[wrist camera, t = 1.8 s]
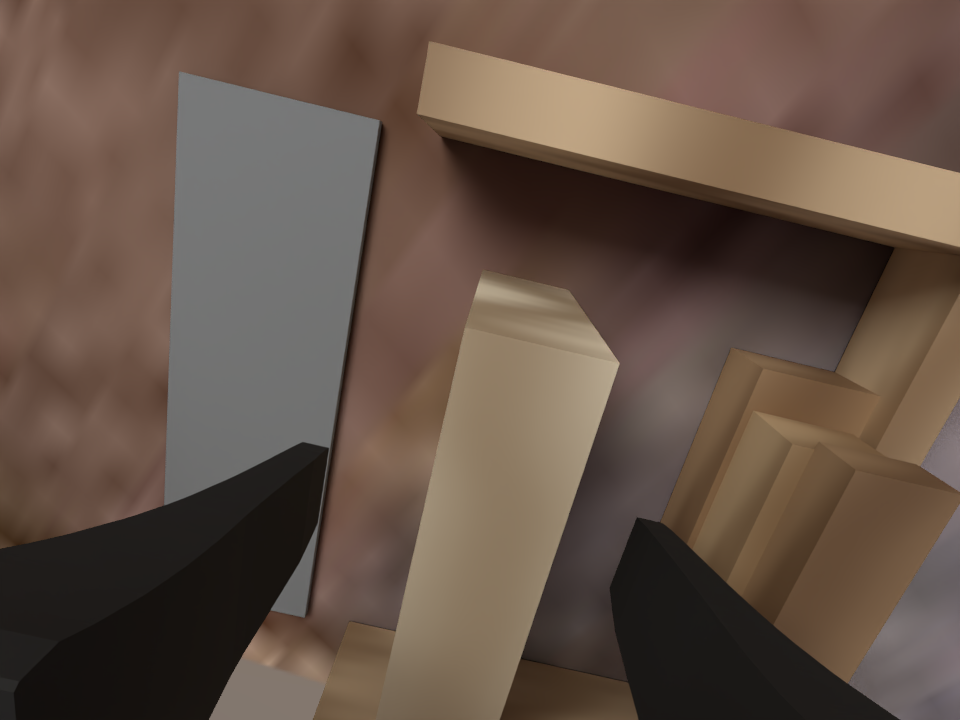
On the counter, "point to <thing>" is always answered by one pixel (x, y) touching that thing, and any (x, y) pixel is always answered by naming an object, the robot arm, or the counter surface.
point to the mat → (261, 284)
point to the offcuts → (805, 505)
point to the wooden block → (496, 498)
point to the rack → (733, 183)
